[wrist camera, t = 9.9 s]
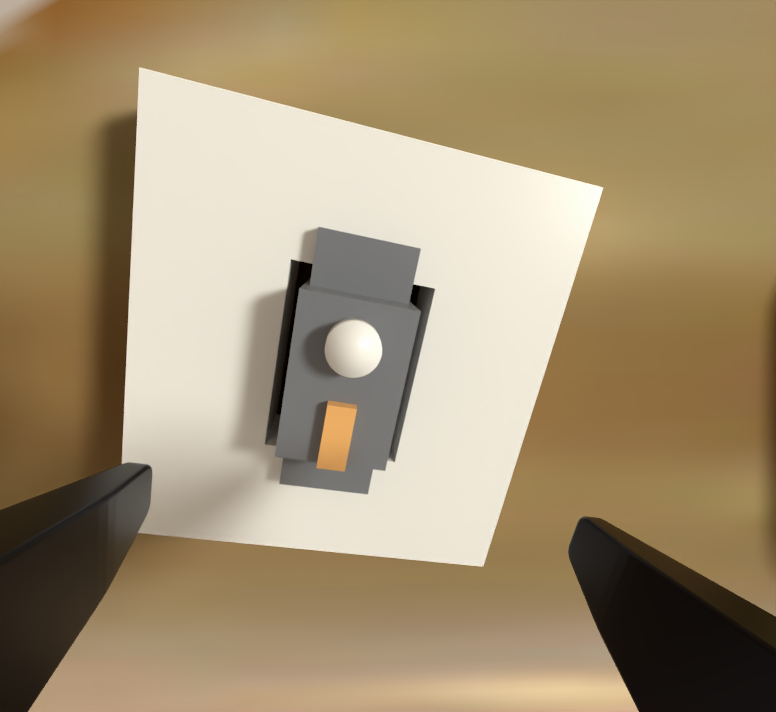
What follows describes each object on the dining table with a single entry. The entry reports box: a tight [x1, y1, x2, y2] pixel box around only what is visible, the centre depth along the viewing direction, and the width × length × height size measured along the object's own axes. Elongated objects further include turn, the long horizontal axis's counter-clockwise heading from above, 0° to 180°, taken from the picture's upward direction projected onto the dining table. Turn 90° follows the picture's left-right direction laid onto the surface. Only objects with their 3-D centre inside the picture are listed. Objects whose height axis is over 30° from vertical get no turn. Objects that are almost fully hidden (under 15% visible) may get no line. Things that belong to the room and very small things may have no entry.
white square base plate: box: [122, 67, 603, 567], centre depth 17 cm, size 17×16×3 cm
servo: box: [275, 227, 421, 494], centre depth 16 cm, size 10×4×6 cm, turn 168°
